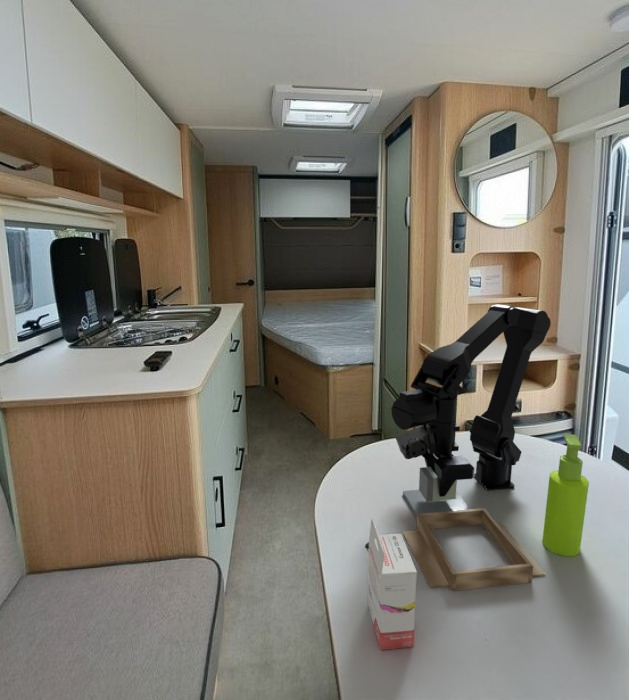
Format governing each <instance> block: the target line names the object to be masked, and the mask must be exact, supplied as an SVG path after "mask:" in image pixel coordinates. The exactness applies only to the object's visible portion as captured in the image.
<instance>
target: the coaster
mask: <svg viewBox="0 0 629 700" xmlns="http://www.w3.org/2000/svg"><path fill="white" fill-rule="evenodd" d="M402 495H403V497H404V499H405V500H406V502H407V503H408V505H409V507H410V509H411V511H412V512H413V514H414V516H415V518H416V519H417V514H425V513H436V512H447V511H458V510H469V509H471V508H470V507H469V506H468V504H467V503H466V502H465V501H464V499H463V498H462V497H461V496H460V495H459V492H457V491H456V499H450V500H439V501H426V500H425V498H424V497H423V495H422V494H421V492H420V491H419V489H412V490H403V491H402Z"/></svg>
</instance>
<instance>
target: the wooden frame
mask: <svg viewBox="0 0 629 700" xmlns="http://www.w3.org/2000/svg"><path fill="white" fill-rule="evenodd" d="M477 525H481V526H482V527H483V528H484V529H485V530H486V532H488V534H489V536H490V537H491V538H492V539H493V540H494V541H495V543H496V544H497V546H498V547H499V548H500V549H501V550H502V552H503V553H504V554H505V555H506V557H507V558H508V559H509V560H510V562H511V565H510V564H509V565H502V566H492V567H491V566H490V567H483V568H474V569H473V568H472V569H464V570H455V569H454V568H453V566H452V564H451V562H450V560H449V559H448V557H447V556H446V554H445V552H444V551H443V549H442V548H441V546H440V544H439V542H438V541H437V539H436V537H435V536H434V534H433V533H432V531H431V530H433V529H445V528H456V527H466V526H477ZM416 529H417V530H409V531H402V534H403V536H404V538H405V540H406V541H407V544H408V546H409V548H410V550H411V552H412V555H413V556H414V558H415V560H416V562H417V563H418V566H419V568H420V570H421V571H422V574H423V576H424V578H425V579H426V582H427V584H428V585H429V588H432V589H433V588H441V587H442V588H443V587H449V588H450V591H451V592H455V591H464V590H473V589H481V588H492V587H498V586H499V587H500V586H509V585H518V584H526V583H532V581H533V578H534V577H543V576H546V573H545V571H544V570H543V569H542V568H541V567H540V566H539V564H538V563H537V562H536V561H535V560H534V558H533V557H531V556H530V554H529V553H528V551H526V550H525V548H524V547H523V546H522V545H521V544H520V543H519V542H518V540H517V539H516V538H515V537H514V536H513V534H511V532H510V531H509V530H508V529H507V528H506V527H505V526H504V524H503V523H502V522H496V520H495V519H494V518H493V517H492V515H491V514H490V513H489V511H487V510H486V508H485V507H483V508H481V507H480V508H470V509H469V510H458V511H447V512H436V513H425V514H417V518H416Z"/></svg>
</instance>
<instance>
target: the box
mask: <svg viewBox="0 0 629 700" xmlns="http://www.w3.org/2000/svg"><path fill="white" fill-rule="evenodd" d="M418 476H419V477H418V478H419V479H418V480H419V481H418V482H419V483H418V484H419V485H418V490H419V491H420V492H421V494H422V495H423V497H424V498H425V500H426V501H439V500H450V499H456V492H457V482H458V480H456V481H455V482H454V483H453V485H452V486H451V488H450V489H449V491H448V492H447V494H446V495H445V496H443V497H440V496H439V491H438V481H437V475H436V474H435V473H434V472H433V470H432V469H431V468H430V467H419V475H418Z"/></svg>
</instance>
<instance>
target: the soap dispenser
mask: <svg viewBox="0 0 629 700" xmlns="http://www.w3.org/2000/svg"><path fill="white" fill-rule="evenodd" d="M562 435H563V438H564V440H565V442H566V444H567V445H566V452H565V453H566V454H564V455H561V456H560V457H559V464H558V470H553V471H552V472H550V473H549V478H548V487H547V495H546V496H547V497H546V506H545V513H544V514H545V515H544V523H543V531H542V544H543V546H544V547H545V548H546V549H547V550H548V551H550V552H551V553H553V554H555V555H557V556H558V555H559V556H562V557H576V556H578V555H579V553H580V551H581V545H582V537H583V530H584V523H585V515H586V507H587V500H588V491H589V486H590V485H589V484H590V481H589V480H588V478H586V477H585V476H584V475H582V470H583V463H584V462H583V460H582V459H581V458H579V457H578V456H579V450H582V443H581V441H580V439H579V437H578V436H577V434H571V433H562Z"/></svg>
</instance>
